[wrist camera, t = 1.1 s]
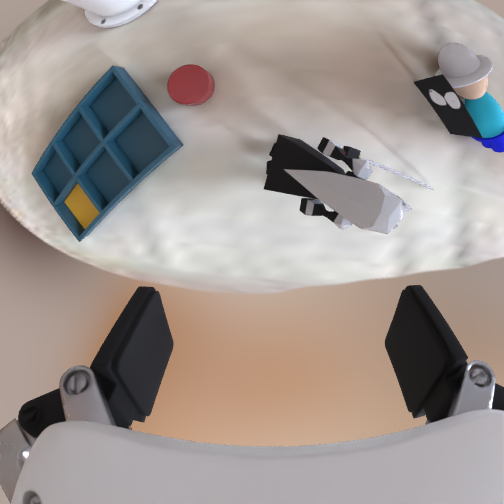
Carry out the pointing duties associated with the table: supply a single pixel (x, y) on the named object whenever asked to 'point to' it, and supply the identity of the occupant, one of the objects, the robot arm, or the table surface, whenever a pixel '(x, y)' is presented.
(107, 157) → the grid
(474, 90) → the toy
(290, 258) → the table surface
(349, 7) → the table surface
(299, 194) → the toy
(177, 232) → the table surface
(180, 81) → the cylinder
